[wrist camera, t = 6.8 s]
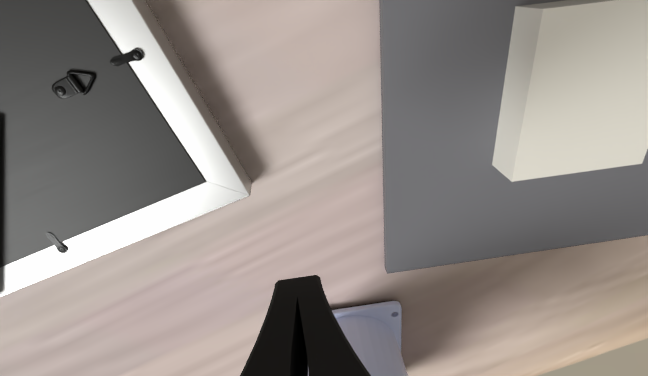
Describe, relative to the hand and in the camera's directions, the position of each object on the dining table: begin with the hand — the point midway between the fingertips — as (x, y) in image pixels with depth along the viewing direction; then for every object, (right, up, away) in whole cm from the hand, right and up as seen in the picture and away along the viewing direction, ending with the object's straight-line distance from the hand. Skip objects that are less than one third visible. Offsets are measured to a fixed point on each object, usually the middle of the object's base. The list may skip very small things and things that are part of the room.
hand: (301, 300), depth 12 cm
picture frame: (-16, +7, +6) cm, 18 cm away
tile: (+10, +8, +6) cm, 14 cm away
